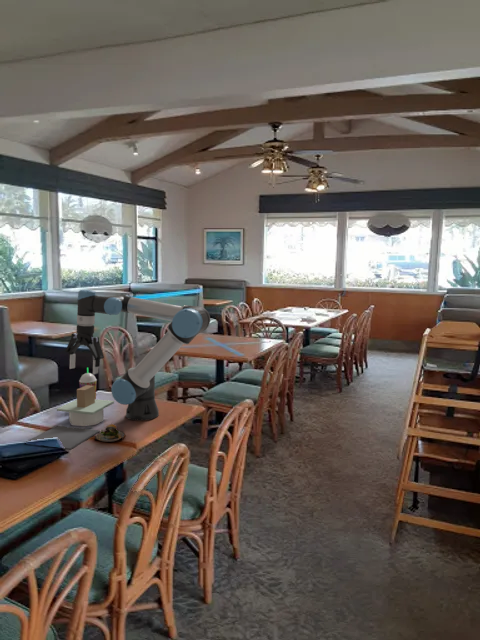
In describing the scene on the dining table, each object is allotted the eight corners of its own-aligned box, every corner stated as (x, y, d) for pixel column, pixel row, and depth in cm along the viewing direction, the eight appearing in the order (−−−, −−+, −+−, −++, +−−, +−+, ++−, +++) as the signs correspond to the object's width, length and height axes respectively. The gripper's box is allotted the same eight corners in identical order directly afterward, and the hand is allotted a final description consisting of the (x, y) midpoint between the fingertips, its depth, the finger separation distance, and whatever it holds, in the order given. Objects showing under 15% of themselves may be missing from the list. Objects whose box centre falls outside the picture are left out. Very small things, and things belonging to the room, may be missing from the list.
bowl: (108, 417, 225) (108, 403, 224) (91, 427, 211) (91, 412, 211) (81, 414, 228) (81, 401, 228) (63, 424, 215) (63, 410, 214)
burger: (89, 441, 195) (88, 424, 194) (108, 432, 206) (107, 415, 205) (112, 446, 190) (112, 428, 189) (131, 437, 201) (130, 419, 200)
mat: (99, 431, 206) (99, 430, 206) (70, 449, 186) (70, 448, 186) (57, 426, 211) (57, 425, 211) (24, 444, 191) (24, 442, 191)
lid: (114, 403, 225) (113, 384, 224) (92, 414, 208) (92, 394, 207) (80, 399, 230) (79, 381, 229) (56, 410, 213) (56, 391, 212)
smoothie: (76, 408, 239) (75, 368, 236) (87, 403, 246) (86, 365, 244) (89, 410, 236) (88, 370, 233) (100, 405, 243) (99, 366, 241)
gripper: (58, 321, 216) (56, 367, 219) (101, 329, 206) (99, 377, 209) (70, 320, 223) (68, 364, 226) (113, 327, 213) (111, 374, 216)
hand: (83, 371), depth 217 cm, fingers open, 13 cm apart
